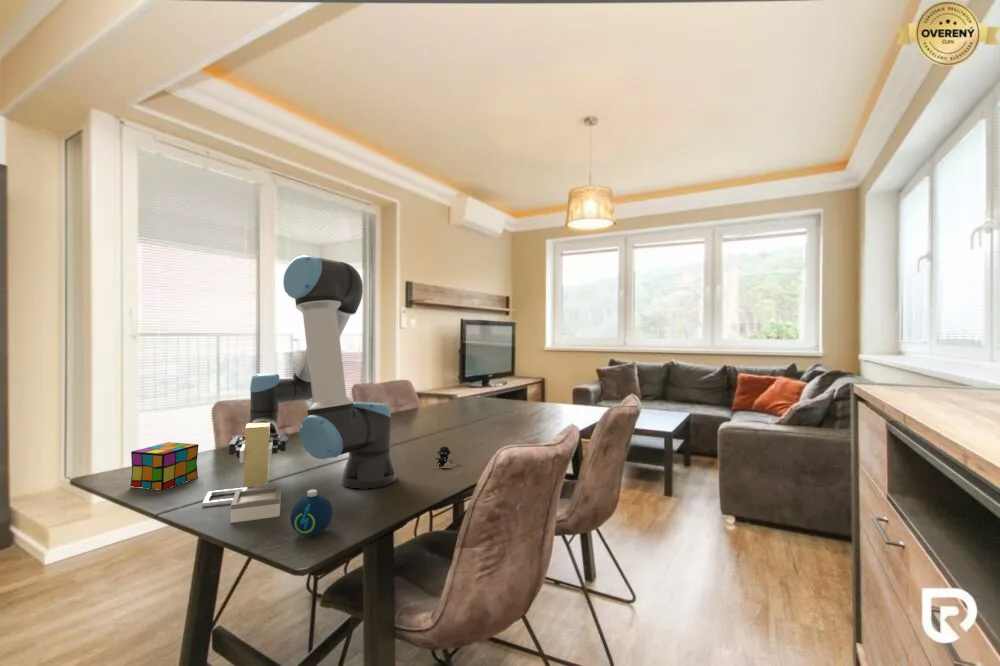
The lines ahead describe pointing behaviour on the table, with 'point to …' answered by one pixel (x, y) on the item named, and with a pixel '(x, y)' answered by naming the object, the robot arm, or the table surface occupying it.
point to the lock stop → (256, 454)
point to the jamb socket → (219, 492)
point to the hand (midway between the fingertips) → (255, 455)
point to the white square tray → (256, 504)
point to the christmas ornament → (311, 514)
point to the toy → (164, 465)
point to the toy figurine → (443, 455)
